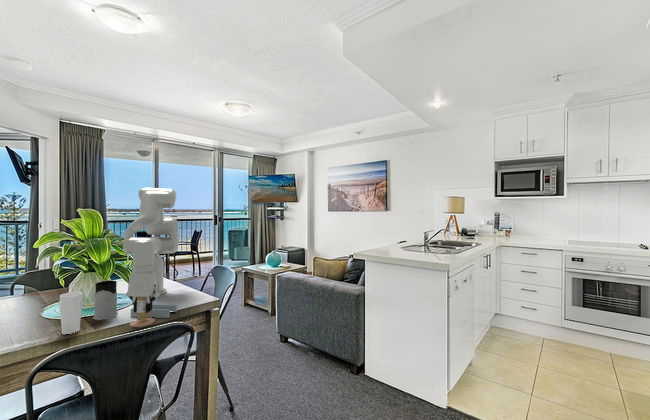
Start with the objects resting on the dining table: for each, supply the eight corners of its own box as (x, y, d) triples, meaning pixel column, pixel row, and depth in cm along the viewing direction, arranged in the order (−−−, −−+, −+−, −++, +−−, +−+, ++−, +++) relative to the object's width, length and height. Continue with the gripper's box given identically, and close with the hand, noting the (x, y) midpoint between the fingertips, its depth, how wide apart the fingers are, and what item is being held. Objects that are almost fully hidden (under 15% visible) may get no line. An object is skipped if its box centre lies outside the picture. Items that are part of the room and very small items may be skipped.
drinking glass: (54, 335, 110) (54, 296, 109) (72, 327, 116) (73, 290, 116) (68, 337, 109) (69, 297, 108) (86, 329, 115) (87, 292, 115)
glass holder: (89, 321, 123) (90, 286, 123) (102, 309, 137) (103, 277, 136) (113, 318, 126) (114, 284, 126) (124, 307, 140) (124, 276, 139)
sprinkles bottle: (147, 315, 127) (148, 285, 126) (150, 319, 123) (150, 287, 123) (135, 318, 124) (135, 287, 123) (137, 321, 120) (137, 289, 120)
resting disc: (124, 326, 119) (124, 325, 119) (139, 318, 128) (139, 317, 128) (146, 327, 119) (146, 326, 119) (159, 318, 128) (159, 317, 128)
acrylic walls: (130, 316, 129) (130, 308, 129) (140, 311, 136) (140, 303, 136) (168, 318, 129) (168, 310, 129) (176, 312, 136) (176, 304, 136)
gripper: (117, 270, 119) (116, 314, 120) (158, 271, 119) (157, 315, 120) (129, 266, 127) (129, 307, 127) (168, 267, 127) (167, 308, 127)
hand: (142, 310), depth 123 cm, fingers closed on sprinkles bottle, 4 cm apart
